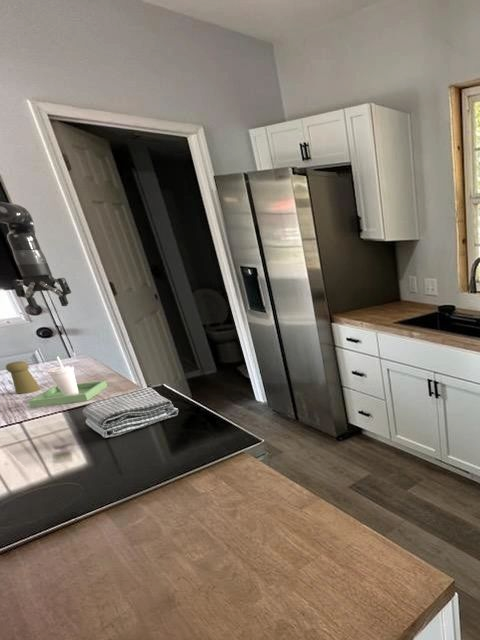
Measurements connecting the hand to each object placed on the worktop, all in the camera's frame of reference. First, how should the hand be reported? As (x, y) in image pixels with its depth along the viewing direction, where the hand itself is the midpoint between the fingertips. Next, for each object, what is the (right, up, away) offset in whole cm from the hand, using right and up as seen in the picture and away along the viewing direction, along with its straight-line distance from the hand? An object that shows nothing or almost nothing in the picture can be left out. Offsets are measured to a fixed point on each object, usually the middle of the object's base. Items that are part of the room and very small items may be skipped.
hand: (50, 307), depth 156 cm
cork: (-1, -32, -6) cm, 33 cm away
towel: (+62, -41, -32) cm, 81 cm away
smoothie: (+21, -33, -11) cm, 41 cm away
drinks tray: (+21, -34, -11) cm, 41 cm away
